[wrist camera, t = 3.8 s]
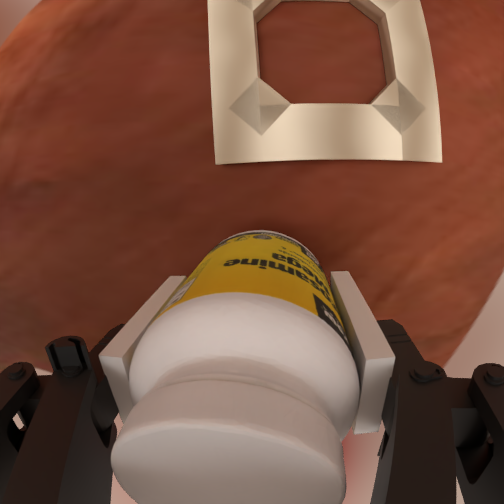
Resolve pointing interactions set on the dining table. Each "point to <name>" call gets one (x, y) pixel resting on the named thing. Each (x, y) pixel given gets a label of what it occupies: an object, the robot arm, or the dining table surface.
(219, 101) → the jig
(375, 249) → the dining table surface
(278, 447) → the pill bottle
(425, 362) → the robot arm
